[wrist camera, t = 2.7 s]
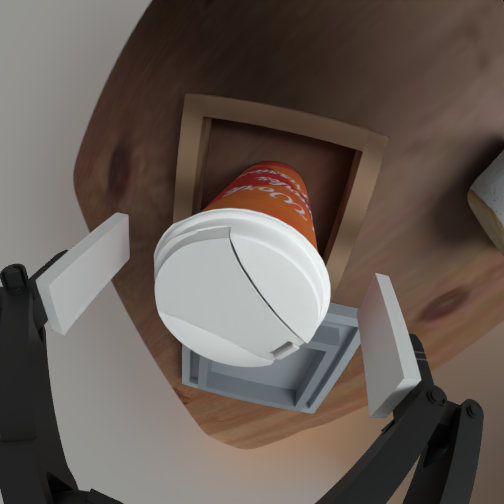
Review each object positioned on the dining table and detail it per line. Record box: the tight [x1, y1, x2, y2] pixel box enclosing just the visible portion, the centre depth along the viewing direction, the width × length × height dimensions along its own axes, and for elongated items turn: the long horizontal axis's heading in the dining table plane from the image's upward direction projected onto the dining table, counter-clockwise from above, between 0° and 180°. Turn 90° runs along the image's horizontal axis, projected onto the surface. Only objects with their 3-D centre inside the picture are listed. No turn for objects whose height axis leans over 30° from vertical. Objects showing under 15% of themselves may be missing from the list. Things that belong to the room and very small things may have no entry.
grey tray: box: [182, 302, 361, 414], centre depth 31 cm, size 18×18×3 cm
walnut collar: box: [173, 93, 389, 302], centre depth 22 cm, size 14×14×2 cm
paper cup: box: [154, 161, 330, 367], centre depth 18 cm, size 8×8×14 cm
